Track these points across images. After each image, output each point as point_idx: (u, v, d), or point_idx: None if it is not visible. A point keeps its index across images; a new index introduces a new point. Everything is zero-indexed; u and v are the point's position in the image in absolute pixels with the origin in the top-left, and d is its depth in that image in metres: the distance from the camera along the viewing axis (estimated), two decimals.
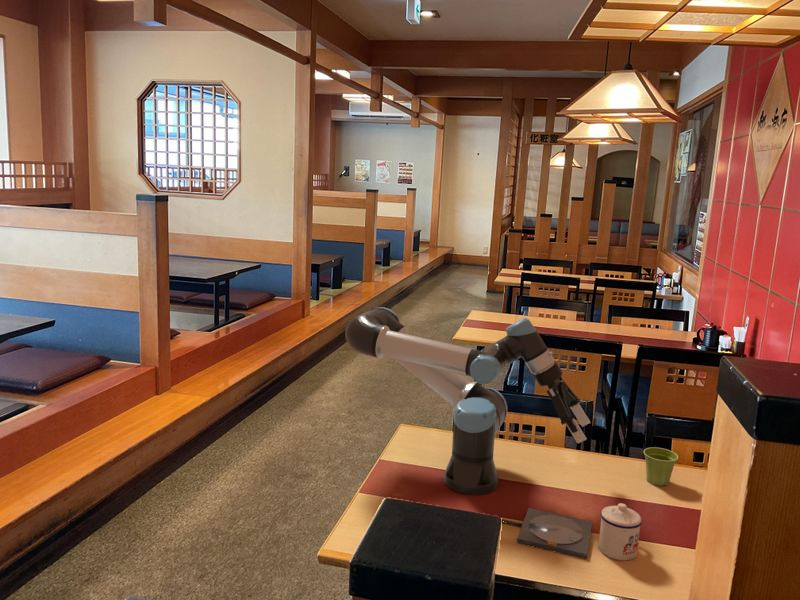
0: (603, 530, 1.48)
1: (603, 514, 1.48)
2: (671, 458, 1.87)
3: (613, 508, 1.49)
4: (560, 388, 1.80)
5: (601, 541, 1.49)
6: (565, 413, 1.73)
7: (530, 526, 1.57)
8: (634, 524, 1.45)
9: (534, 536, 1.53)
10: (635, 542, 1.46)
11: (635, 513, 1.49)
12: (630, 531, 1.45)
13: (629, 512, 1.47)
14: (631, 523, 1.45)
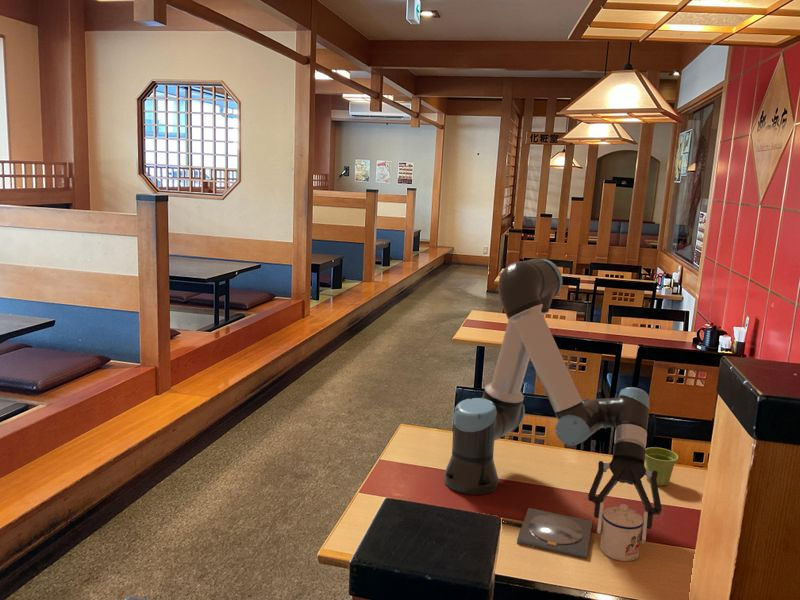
0: (605, 531, 1.48)
1: (605, 515, 1.48)
2: (671, 458, 1.87)
3: (615, 509, 1.48)
4: None
5: (603, 542, 1.49)
6: None
7: (530, 526, 1.57)
8: (636, 525, 1.44)
9: (534, 536, 1.53)
10: (637, 542, 1.46)
11: (637, 513, 1.48)
12: (632, 532, 1.45)
13: (631, 513, 1.47)
14: (633, 524, 1.44)
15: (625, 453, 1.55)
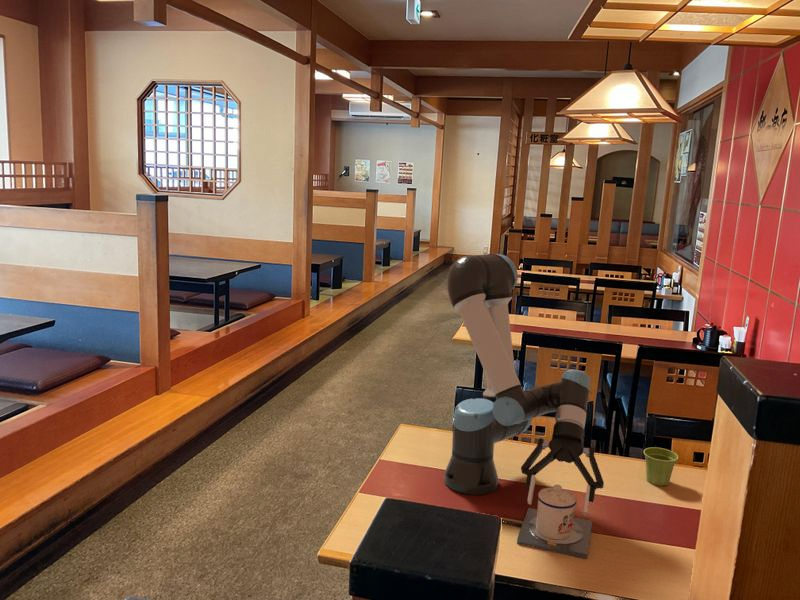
0: (539, 511, 1.53)
1: (539, 495, 1.53)
2: (671, 458, 1.87)
3: (549, 489, 1.54)
4: None
5: (538, 522, 1.54)
6: None
7: (530, 526, 1.57)
8: (568, 504, 1.49)
9: (534, 536, 1.53)
10: (569, 522, 1.51)
11: (570, 494, 1.53)
12: (564, 511, 1.50)
13: (564, 493, 1.52)
14: (565, 503, 1.49)
15: (563, 433, 1.60)
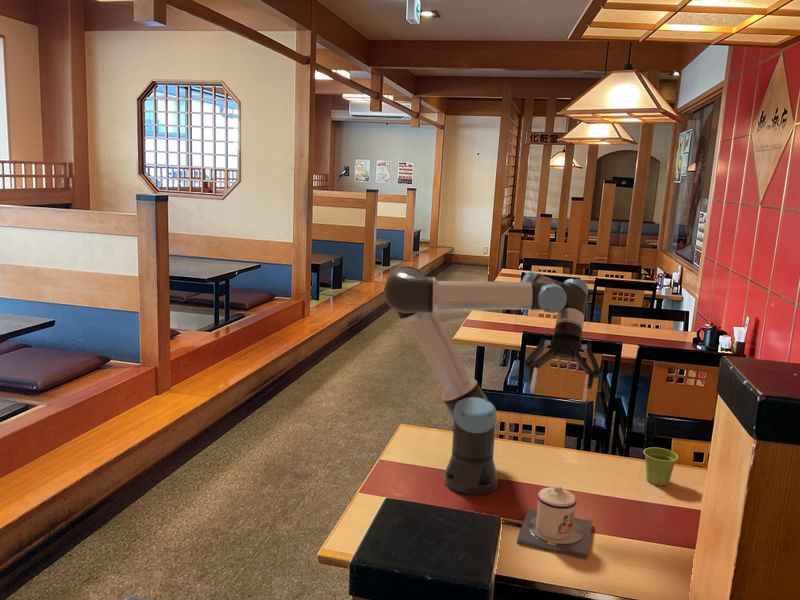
0: (539, 511, 1.53)
1: (539, 495, 1.53)
2: (671, 458, 1.87)
3: (549, 489, 1.54)
4: None
5: (538, 522, 1.54)
6: None
7: (530, 526, 1.57)
8: (568, 504, 1.49)
9: (534, 536, 1.53)
10: (569, 522, 1.51)
11: (570, 494, 1.53)
12: (564, 511, 1.50)
13: (564, 493, 1.52)
14: (565, 503, 1.49)
15: (563, 331, 1.75)
